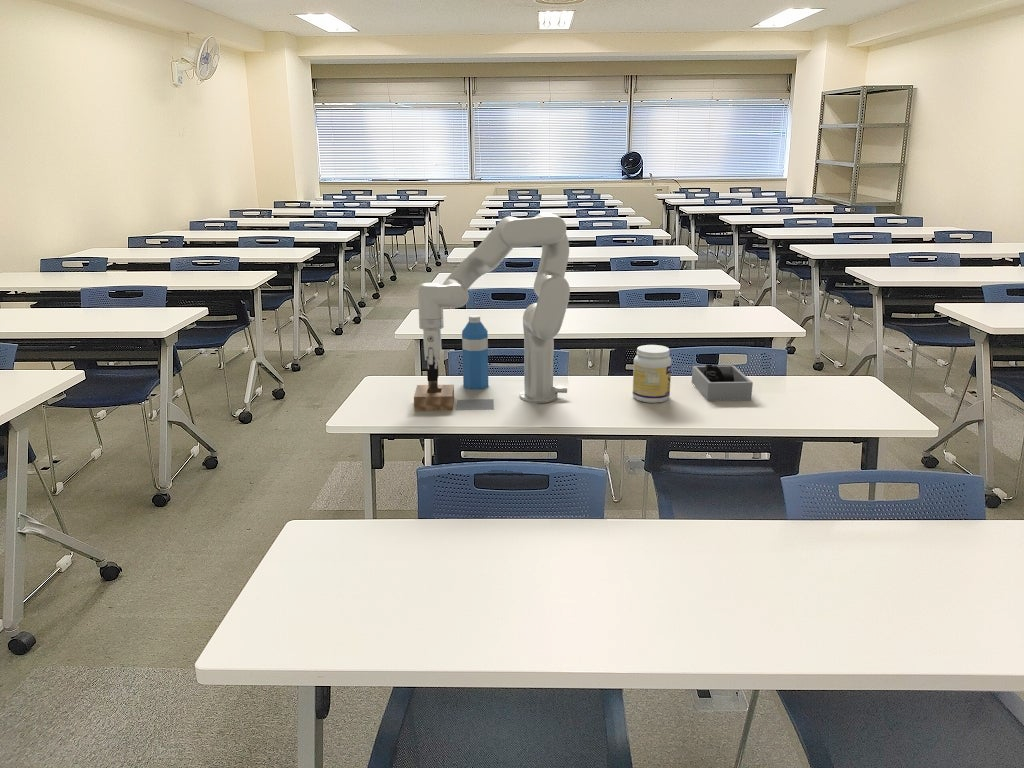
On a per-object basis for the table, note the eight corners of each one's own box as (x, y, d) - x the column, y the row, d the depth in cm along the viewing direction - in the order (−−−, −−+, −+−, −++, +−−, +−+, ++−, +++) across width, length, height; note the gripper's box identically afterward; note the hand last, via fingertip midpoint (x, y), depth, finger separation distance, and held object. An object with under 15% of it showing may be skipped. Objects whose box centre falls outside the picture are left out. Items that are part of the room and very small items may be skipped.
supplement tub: (672, 404, 239) (675, 353, 234) (634, 404, 239) (637, 353, 234) (665, 392, 251) (668, 343, 245) (629, 391, 251) (631, 343, 246)
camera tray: (732, 381, 261) (733, 365, 259) (751, 399, 242) (752, 382, 240) (691, 382, 260) (692, 366, 258) (707, 400, 242) (708, 383, 240)
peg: (438, 386, 239) (437, 353, 235) (437, 389, 236) (436, 356, 233) (428, 386, 239) (427, 353, 235) (428, 389, 236) (426, 356, 232)
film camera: (735, 399, 243) (737, 373, 241) (705, 398, 245) (707, 372, 242) (728, 385, 258) (731, 360, 255) (700, 384, 259) (702, 359, 256)
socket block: (454, 398, 245) (453, 384, 244) (452, 411, 234) (452, 396, 232) (417, 399, 245) (417, 385, 243) (414, 411, 233) (413, 396, 232)
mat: (493, 400, 243) (493, 399, 243) (493, 410, 234) (493, 409, 234) (457, 400, 243) (457, 399, 243) (455, 411, 234) (455, 410, 234)
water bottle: (458, 384, 260) (456, 314, 252) (483, 380, 264) (481, 312, 256) (468, 392, 252) (466, 320, 244) (493, 388, 255) (492, 317, 248)
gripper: (441, 329, 223) (443, 387, 229) (444, 317, 239) (446, 371, 244) (416, 329, 223) (419, 387, 229) (421, 317, 238) (423, 371, 244)
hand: (433, 378), depth 236 cm, fingers closed on peg, 3 cm apart
